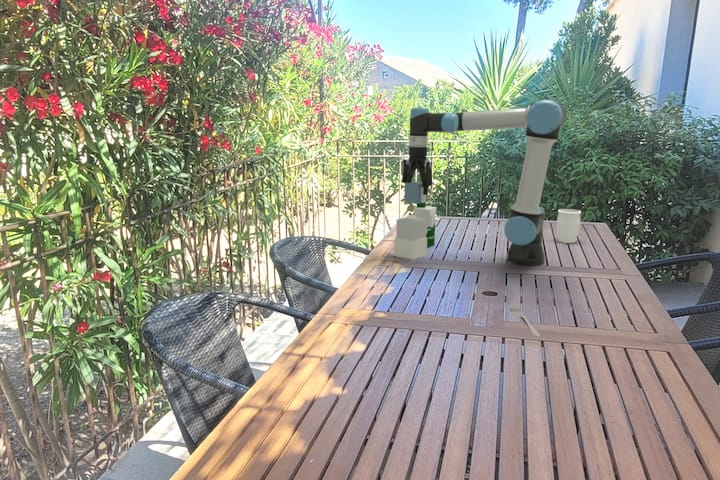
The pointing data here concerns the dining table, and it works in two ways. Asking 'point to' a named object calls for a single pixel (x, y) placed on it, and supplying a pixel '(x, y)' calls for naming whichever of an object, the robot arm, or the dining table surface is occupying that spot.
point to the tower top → (411, 228)
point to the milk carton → (427, 220)
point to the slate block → (413, 192)
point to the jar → (568, 225)
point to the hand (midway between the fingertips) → (415, 201)
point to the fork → (526, 320)
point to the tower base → (410, 248)
